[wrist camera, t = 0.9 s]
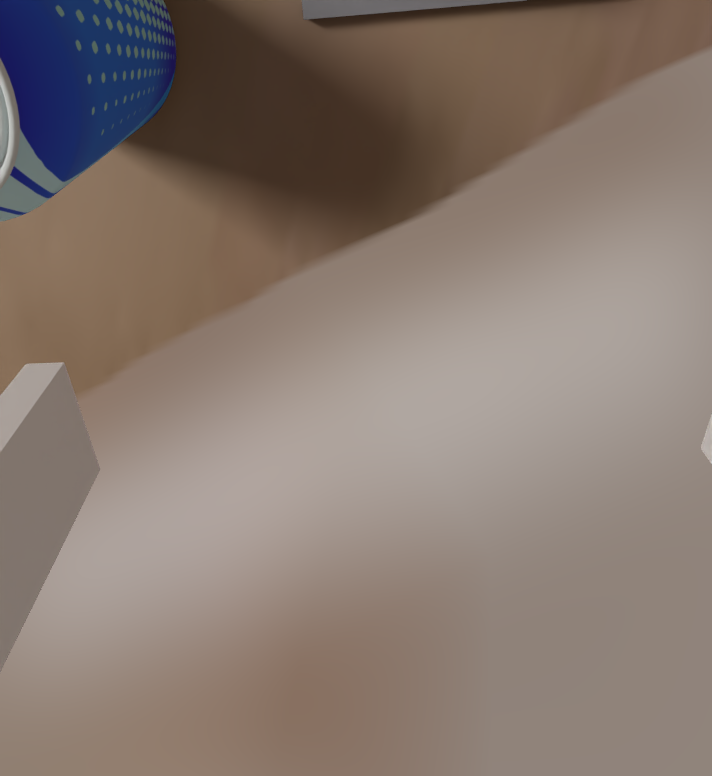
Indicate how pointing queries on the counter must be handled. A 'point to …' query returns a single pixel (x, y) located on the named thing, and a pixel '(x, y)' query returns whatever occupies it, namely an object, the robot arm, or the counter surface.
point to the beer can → (75, 88)
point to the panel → (378, 6)
